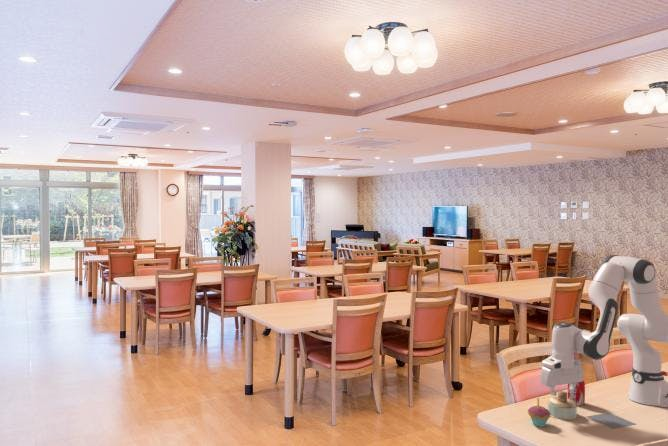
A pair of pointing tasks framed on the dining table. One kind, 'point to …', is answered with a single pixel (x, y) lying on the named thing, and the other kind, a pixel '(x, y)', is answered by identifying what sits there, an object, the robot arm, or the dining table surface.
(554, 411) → the bowl
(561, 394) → the lid
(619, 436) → the dining table surface
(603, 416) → the mat
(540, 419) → the cupcake
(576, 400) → the soda can
